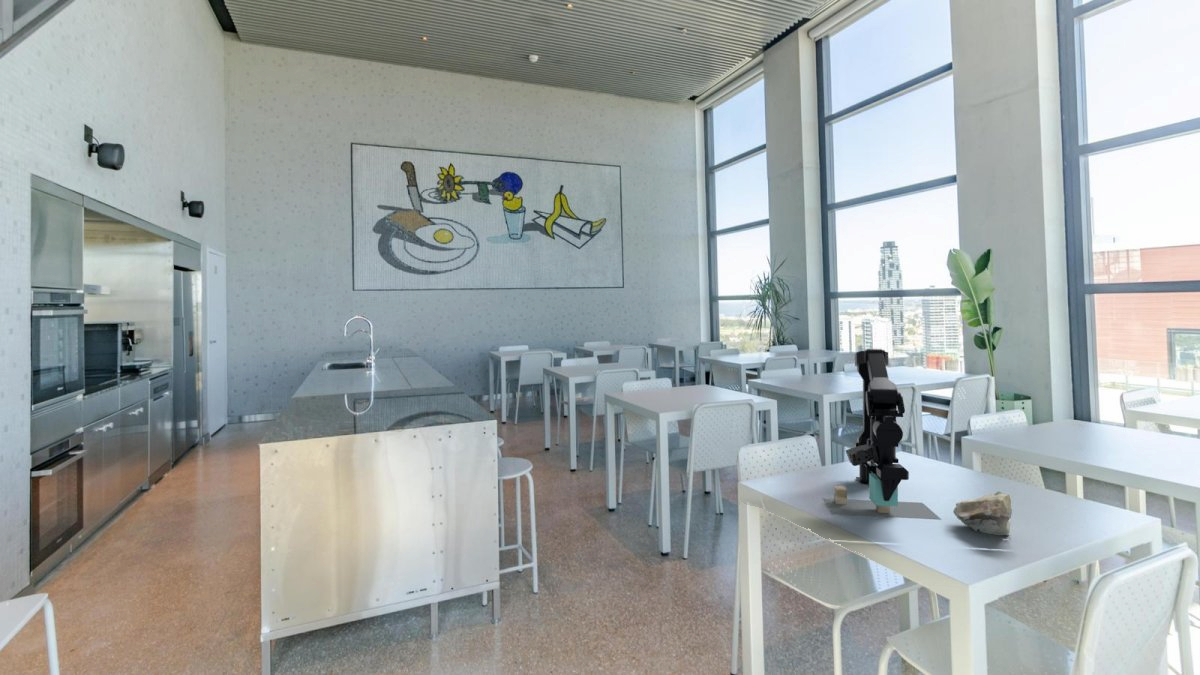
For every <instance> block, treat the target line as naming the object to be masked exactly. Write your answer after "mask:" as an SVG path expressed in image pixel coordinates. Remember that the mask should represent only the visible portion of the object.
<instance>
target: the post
mask: <svg viewBox="0 0 1200 675" xmlns="http://www.w3.org/2000/svg"><path fill="white" fill-rule="evenodd" d="M876 510H877V511H878V512H879V513H890V506H880V505H876Z"/></svg>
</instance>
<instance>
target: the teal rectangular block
mask: <svg viewBox="0 0 1200 675" xmlns="http://www.w3.org/2000/svg"><path fill="white" fill-rule="evenodd" d="M898 487H899V485H898V486H897V488H896V490H895V491H894V493H893V495H892V497H891V498H890V500H889V501H884V498H883V493H882V487H881V481H880V479H879V478H878V477H877V476H876V475H875V474H873V473H869V484H868V488H869V490H868V495H869V496H868V500H871V501H872V502H873V503H874V504H875V505H880V506H898V502H899V493H898V492H899V488H898Z"/></svg>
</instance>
